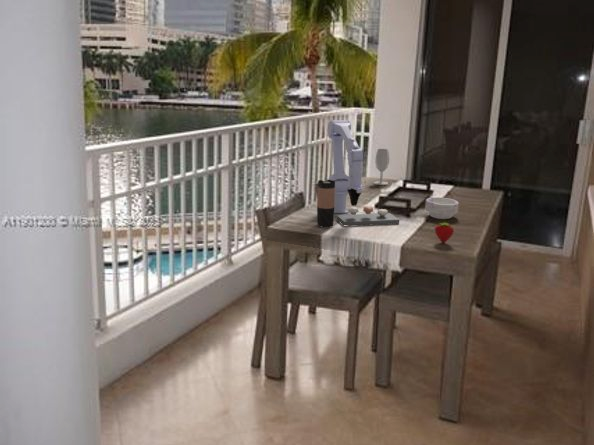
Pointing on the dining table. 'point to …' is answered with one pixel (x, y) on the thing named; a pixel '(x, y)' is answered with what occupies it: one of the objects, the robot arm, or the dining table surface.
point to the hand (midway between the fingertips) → (353, 205)
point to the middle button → (368, 210)
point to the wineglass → (382, 164)
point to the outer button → (382, 212)
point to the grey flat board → (367, 219)
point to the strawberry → (444, 231)
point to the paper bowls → (441, 207)
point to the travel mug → (325, 203)
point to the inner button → (353, 210)
